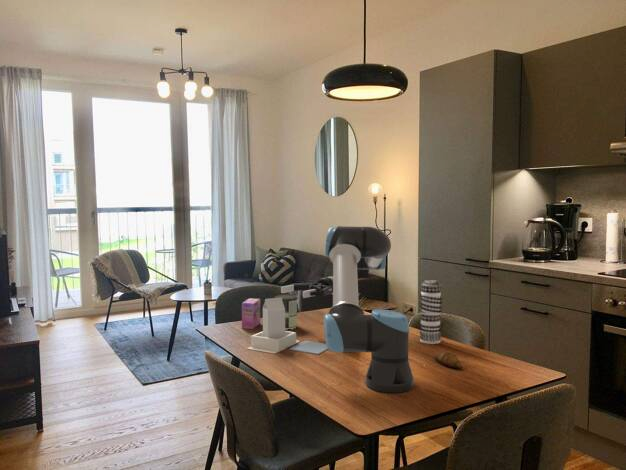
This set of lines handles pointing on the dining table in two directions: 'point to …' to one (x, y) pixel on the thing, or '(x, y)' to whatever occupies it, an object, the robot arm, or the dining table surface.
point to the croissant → (448, 359)
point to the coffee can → (289, 310)
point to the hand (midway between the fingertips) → (292, 292)
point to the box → (250, 313)
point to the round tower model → (430, 312)
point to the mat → (310, 347)
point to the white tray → (272, 342)
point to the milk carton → (273, 318)
